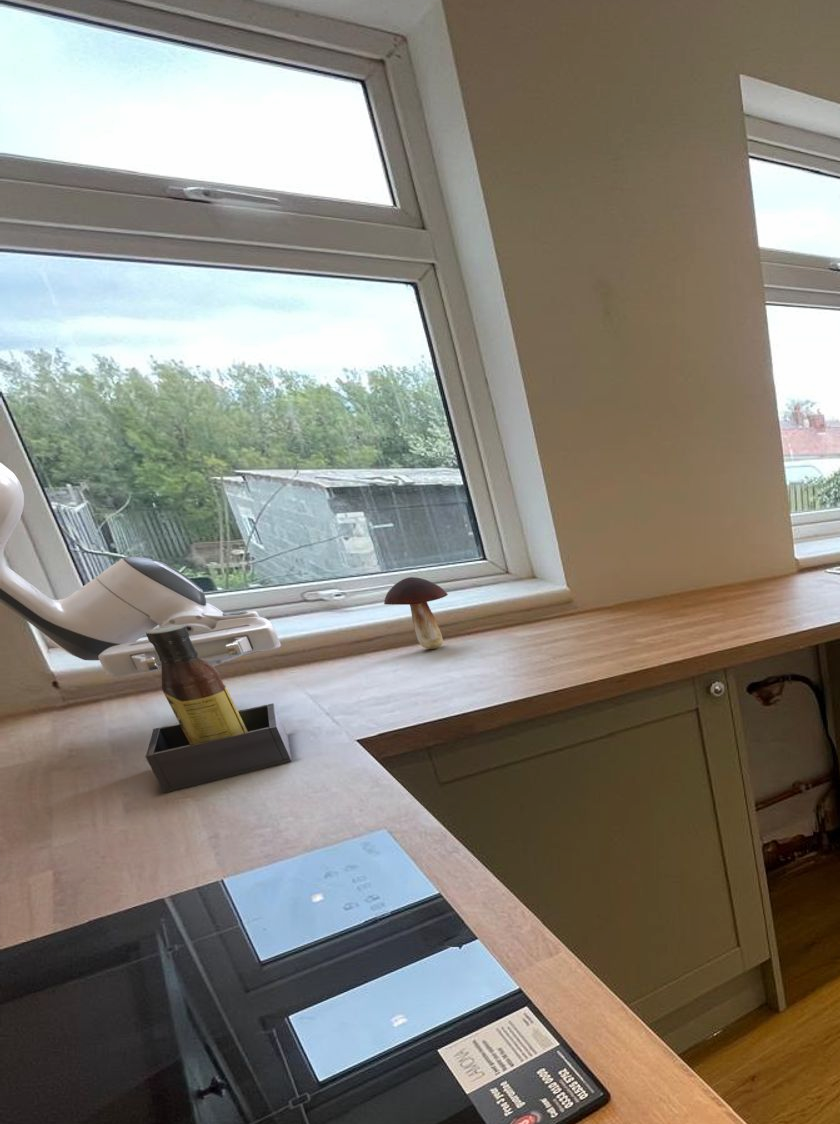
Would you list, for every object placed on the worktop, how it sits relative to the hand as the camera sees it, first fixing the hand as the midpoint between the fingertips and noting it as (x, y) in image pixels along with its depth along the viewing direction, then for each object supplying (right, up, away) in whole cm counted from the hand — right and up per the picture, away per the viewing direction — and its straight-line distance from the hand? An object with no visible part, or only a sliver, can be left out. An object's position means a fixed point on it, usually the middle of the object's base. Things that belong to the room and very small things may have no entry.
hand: (192, 658), depth 121 cm
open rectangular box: (+8, -15, -3) cm, 18 cm away
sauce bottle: (+8, -15, -3) cm, 18 cm away
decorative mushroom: (+2, +6, +48) cm, 49 cm away
